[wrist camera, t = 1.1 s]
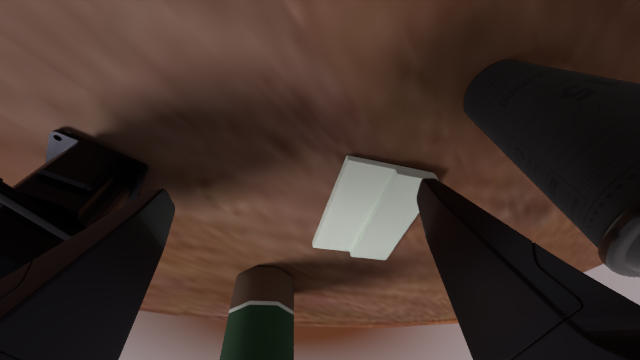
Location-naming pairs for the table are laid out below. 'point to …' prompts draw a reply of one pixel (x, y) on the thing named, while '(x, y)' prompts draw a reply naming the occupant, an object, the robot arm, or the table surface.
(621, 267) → the drinking cup
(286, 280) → the beer bottle
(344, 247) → the napkin
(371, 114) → the table surface
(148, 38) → the table surface
